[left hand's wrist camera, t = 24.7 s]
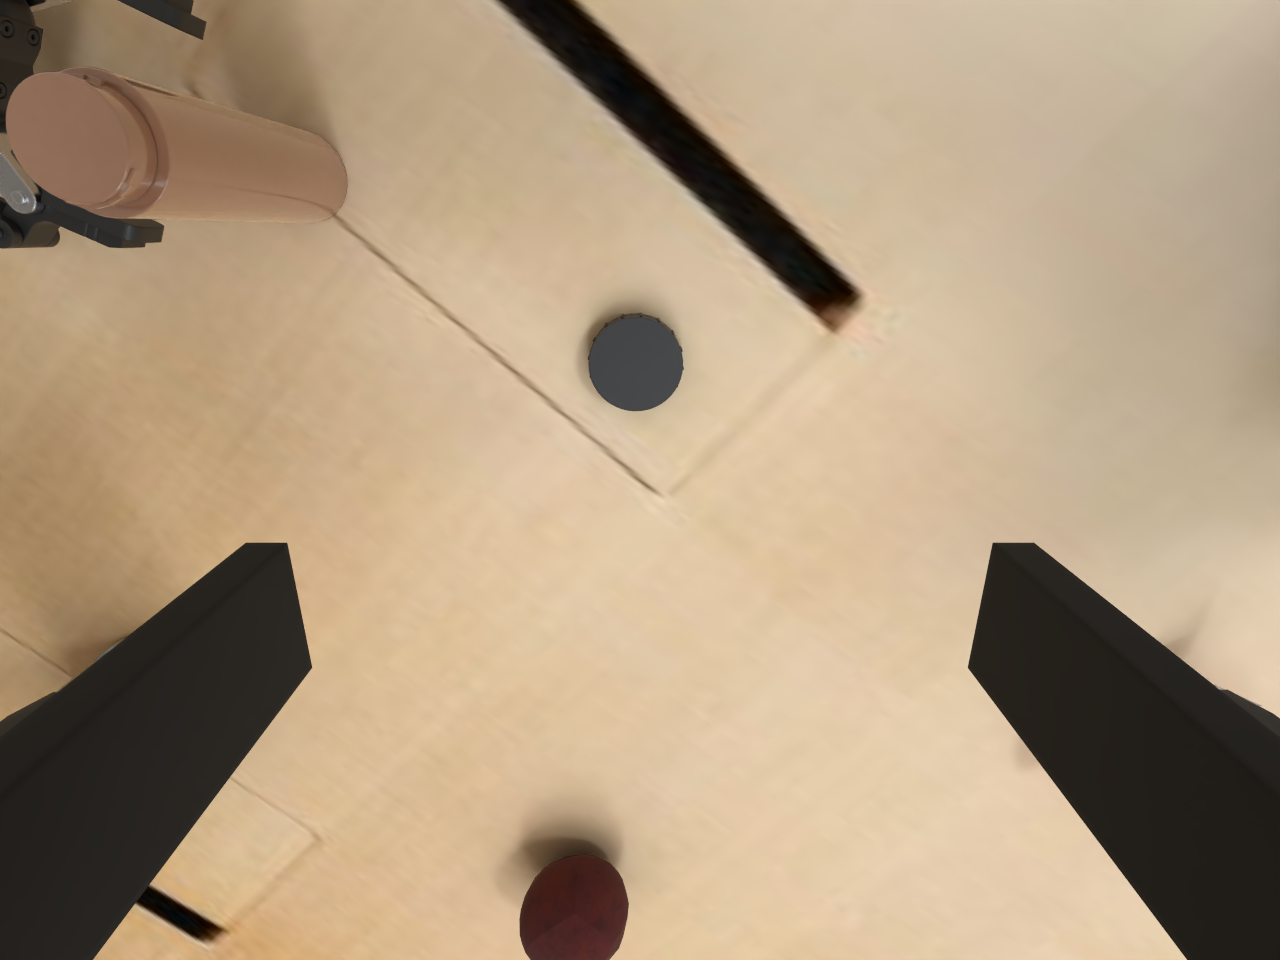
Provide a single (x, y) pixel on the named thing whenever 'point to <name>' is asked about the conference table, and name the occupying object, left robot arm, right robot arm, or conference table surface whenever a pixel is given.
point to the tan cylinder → (166, 153)
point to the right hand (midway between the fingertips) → (171, 134)
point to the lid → (635, 362)
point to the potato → (574, 911)
